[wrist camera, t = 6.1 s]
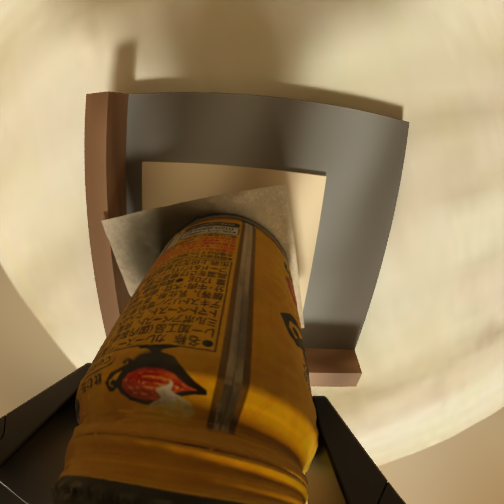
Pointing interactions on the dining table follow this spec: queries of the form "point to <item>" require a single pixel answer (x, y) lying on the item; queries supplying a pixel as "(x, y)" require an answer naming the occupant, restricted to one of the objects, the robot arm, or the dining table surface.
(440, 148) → the dining table surface
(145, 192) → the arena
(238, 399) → the condiment
